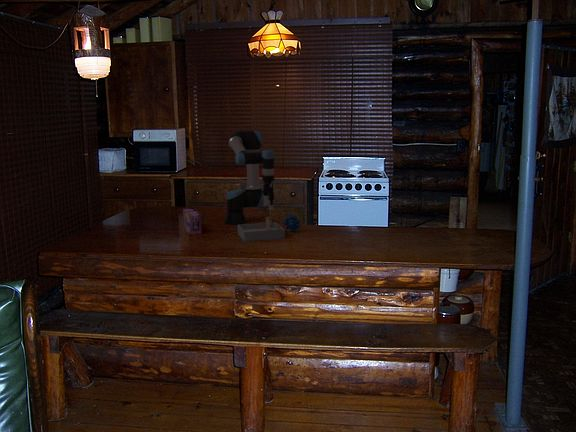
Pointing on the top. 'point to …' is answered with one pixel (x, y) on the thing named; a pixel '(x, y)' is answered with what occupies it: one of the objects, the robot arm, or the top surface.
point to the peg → (268, 223)
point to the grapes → (291, 223)
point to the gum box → (192, 220)
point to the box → (260, 232)
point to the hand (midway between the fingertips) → (268, 207)
